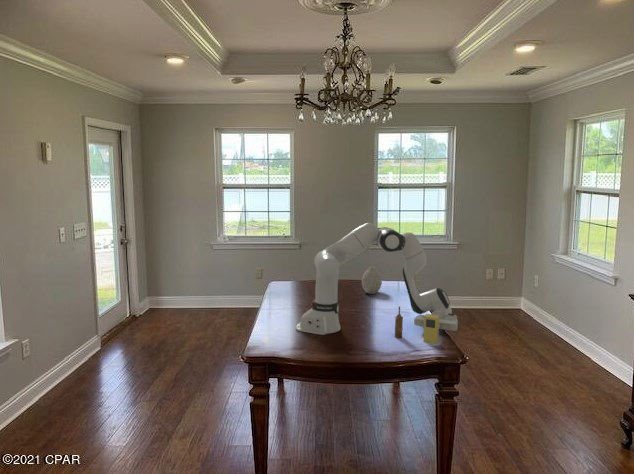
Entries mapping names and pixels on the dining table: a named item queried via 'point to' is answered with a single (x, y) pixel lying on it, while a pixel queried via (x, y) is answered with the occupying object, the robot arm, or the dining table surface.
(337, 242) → the robot arm
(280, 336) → the dining table surface
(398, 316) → the awl
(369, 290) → the vase
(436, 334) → the block
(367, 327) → the dining table surface
